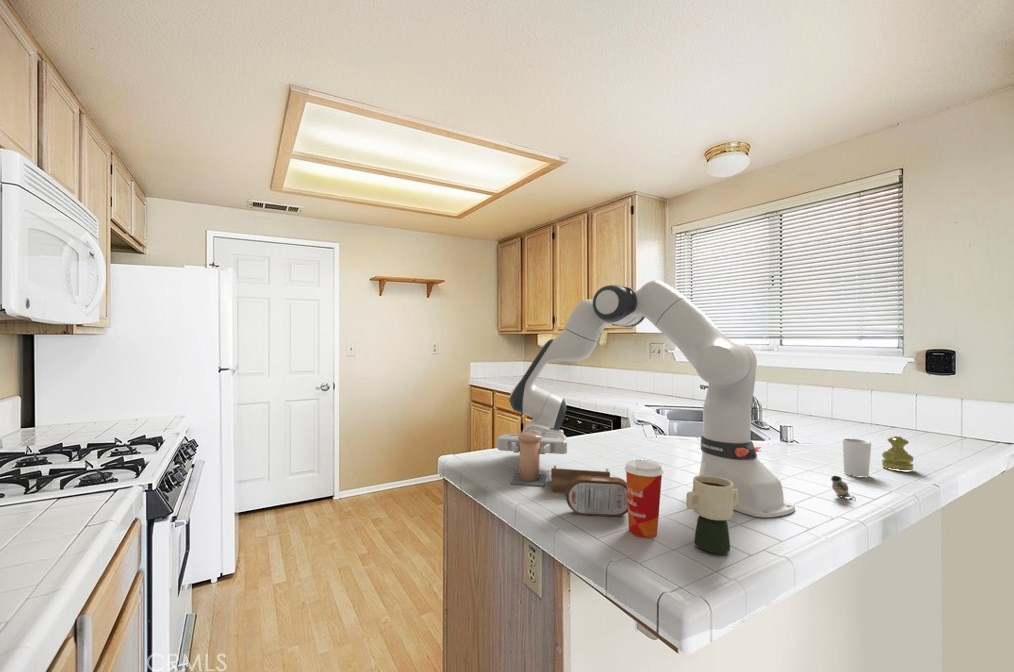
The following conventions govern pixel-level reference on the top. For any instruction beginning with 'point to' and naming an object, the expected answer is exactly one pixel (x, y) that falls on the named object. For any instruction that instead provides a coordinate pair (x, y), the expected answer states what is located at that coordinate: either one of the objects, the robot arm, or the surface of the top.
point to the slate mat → (517, 481)
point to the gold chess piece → (897, 455)
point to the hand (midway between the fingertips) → (529, 450)
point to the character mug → (712, 511)
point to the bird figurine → (840, 487)
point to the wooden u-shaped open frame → (570, 477)
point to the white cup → (856, 456)
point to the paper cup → (643, 496)
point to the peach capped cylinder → (529, 456)
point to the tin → (597, 496)
